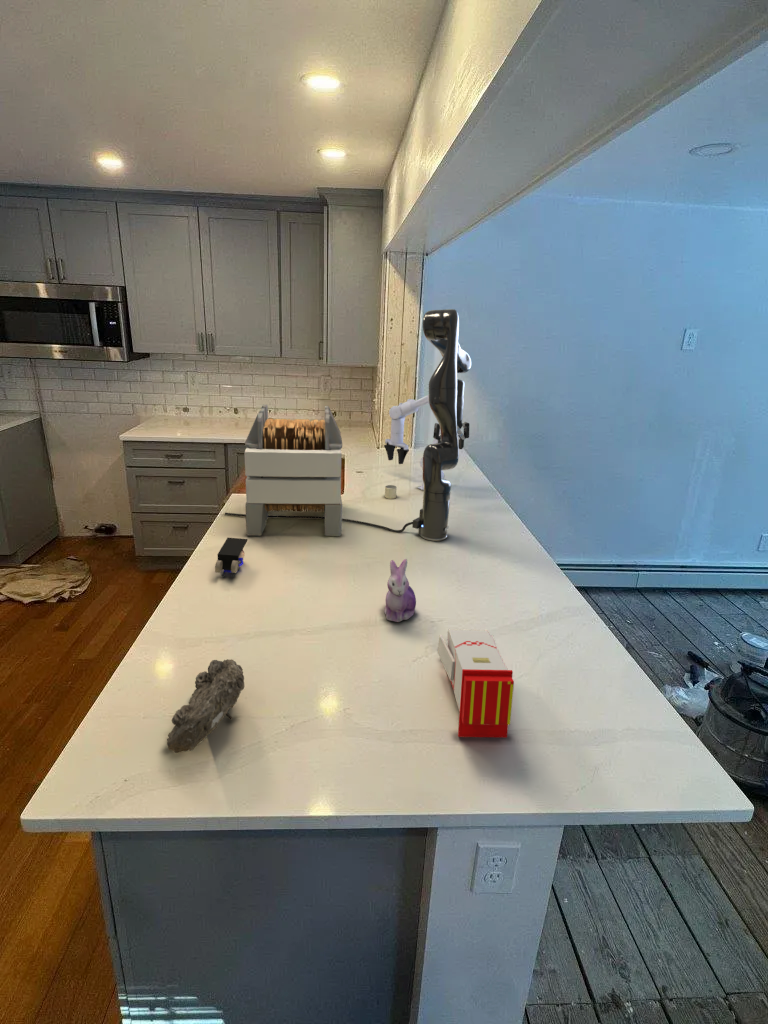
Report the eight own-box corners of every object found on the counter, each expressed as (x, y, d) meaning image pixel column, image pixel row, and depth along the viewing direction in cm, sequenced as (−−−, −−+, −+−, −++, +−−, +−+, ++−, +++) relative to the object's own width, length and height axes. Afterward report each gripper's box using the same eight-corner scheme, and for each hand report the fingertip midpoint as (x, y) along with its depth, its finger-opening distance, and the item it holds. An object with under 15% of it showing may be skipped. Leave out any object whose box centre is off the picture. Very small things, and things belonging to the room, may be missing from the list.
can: (393, 494, 241) (393, 484, 240) (397, 498, 237) (398, 487, 236) (382, 495, 240) (383, 485, 238) (387, 499, 236) (388, 488, 234)
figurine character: (238, 584, 162) (249, 557, 175) (236, 562, 158) (247, 536, 172) (215, 584, 161) (227, 556, 175) (212, 561, 158) (225, 535, 171)
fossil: (192, 660, 117) (244, 628, 112) (224, 691, 120) (276, 661, 115) (142, 746, 98) (202, 712, 93) (182, 779, 101) (242, 748, 96)
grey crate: (255, 503, 223) (251, 399, 209) (338, 504, 226) (340, 401, 213) (245, 536, 191) (239, 416, 177) (342, 536, 195) (344, 418, 181)
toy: (488, 613, 130) (523, 677, 101) (484, 667, 133) (517, 744, 104) (435, 612, 130) (455, 676, 101) (432, 666, 133) (451, 743, 103)
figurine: (392, 627, 141) (395, 572, 136) (374, 608, 149) (376, 556, 144) (425, 619, 145) (429, 566, 140) (405, 601, 154) (408, 550, 149)
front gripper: (465, 405, 221) (462, 446, 226) (432, 406, 216) (429, 448, 221) (474, 408, 214) (471, 450, 219) (440, 409, 209) (437, 452, 215)
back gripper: (380, 430, 257) (379, 459, 262) (400, 436, 246) (398, 466, 251) (392, 428, 261) (391, 457, 266) (412, 435, 251) (411, 464, 255)
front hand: (450, 449), depth 220 cm, fingers open, 8 cm apart
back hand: (395, 461), depth 259 cm, fingers open, 7 cm apart
